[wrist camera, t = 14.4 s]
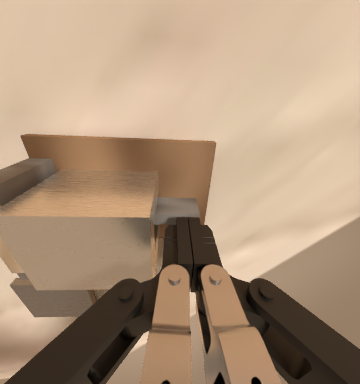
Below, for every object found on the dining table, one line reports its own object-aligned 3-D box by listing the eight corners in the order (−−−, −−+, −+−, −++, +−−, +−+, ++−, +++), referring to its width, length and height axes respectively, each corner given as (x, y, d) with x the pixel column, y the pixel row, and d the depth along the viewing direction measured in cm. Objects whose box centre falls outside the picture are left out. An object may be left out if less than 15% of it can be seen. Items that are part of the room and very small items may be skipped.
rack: (63, 232, 16) (18, 287, 11) (24, 134, 11) (-78, 156, 7) (201, 233, 16) (211, 284, 12) (214, 141, 12) (239, 166, 7)
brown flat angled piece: (38, 310, 22) (34, 317, 21) (15, 278, 19) (9, 285, 18) (99, 309, 22) (97, 315, 22) (88, 277, 19) (85, 284, 18)
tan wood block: (81, 228, 15) (36, 290, 10) (61, 169, 12) (-14, 215, 7) (159, 228, 15) (153, 288, 10) (158, 171, 12) (149, 217, 7)
